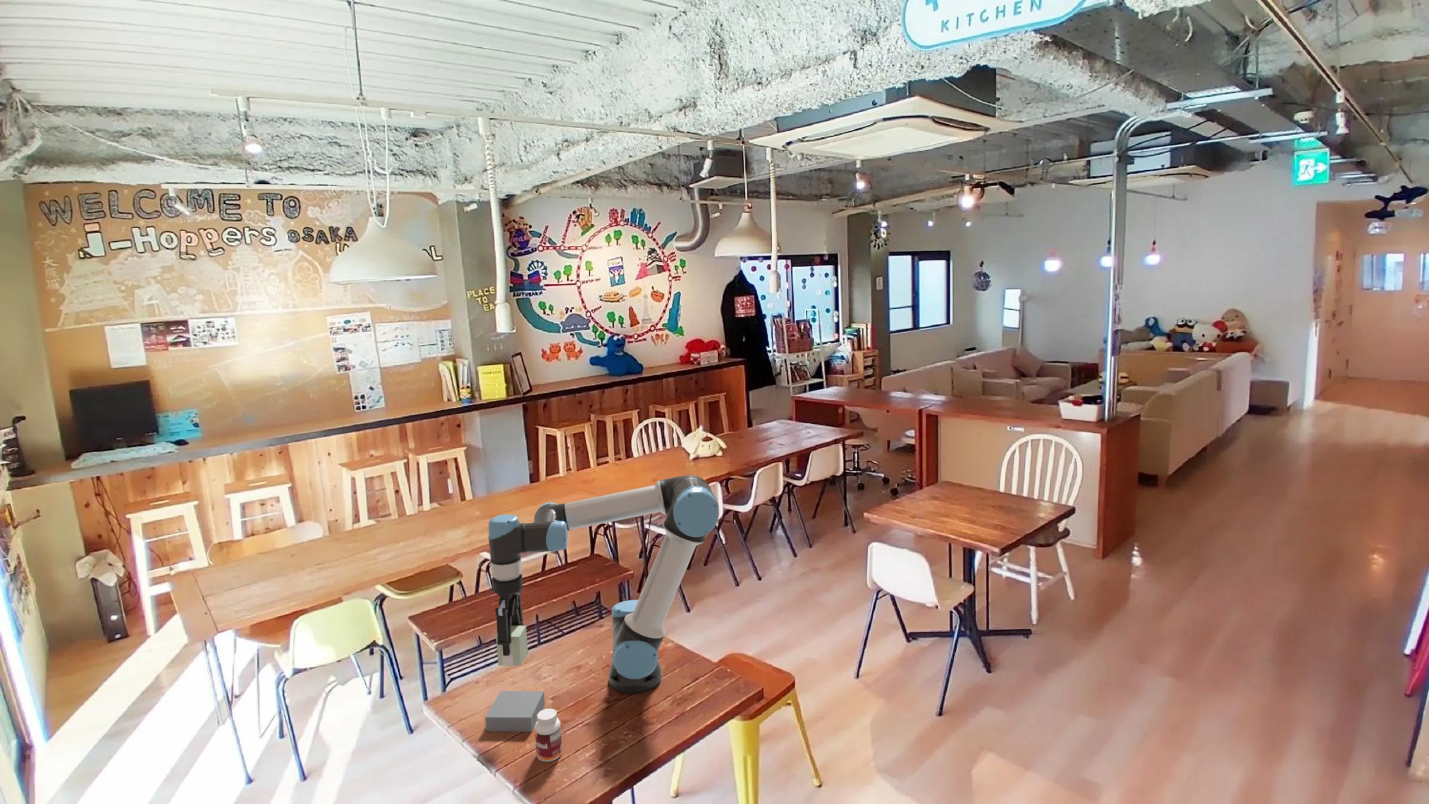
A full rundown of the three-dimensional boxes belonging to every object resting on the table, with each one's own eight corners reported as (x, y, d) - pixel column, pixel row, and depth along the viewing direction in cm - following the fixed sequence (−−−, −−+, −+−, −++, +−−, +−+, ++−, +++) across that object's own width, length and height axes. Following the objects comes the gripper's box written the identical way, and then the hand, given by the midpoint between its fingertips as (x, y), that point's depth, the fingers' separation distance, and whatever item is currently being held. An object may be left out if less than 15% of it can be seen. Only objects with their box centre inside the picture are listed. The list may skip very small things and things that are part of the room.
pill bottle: (531, 755, 181) (528, 715, 179) (551, 743, 185) (549, 703, 183) (547, 766, 177) (544, 724, 175) (567, 753, 181) (564, 712, 179)
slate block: (544, 704, 202) (543, 691, 201) (532, 731, 190) (531, 717, 189) (501, 704, 203) (500, 690, 202) (486, 731, 191) (485, 717, 190)
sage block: (527, 653, 196) (526, 625, 195) (521, 665, 190) (519, 636, 189) (505, 653, 196) (503, 625, 195) (498, 665, 190) (496, 636, 189)
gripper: (504, 560, 199) (509, 640, 203) (479, 591, 180) (485, 678, 184) (531, 560, 198) (536, 640, 202) (509, 591, 180) (515, 678, 184)
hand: (512, 658), depth 193 cm, fingers closed on sage block, 6 cm apart
